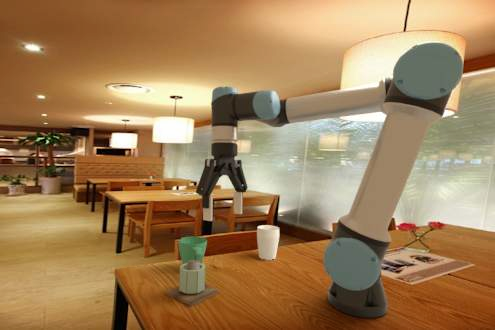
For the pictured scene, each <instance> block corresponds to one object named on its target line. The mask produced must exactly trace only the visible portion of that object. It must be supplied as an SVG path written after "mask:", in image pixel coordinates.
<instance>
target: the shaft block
mask: <svg viewBox="0 0 495 330" xmlns="http://www.w3.org/2000/svg"><path fill="white" fill-rule="evenodd" d="M198 269H200V261H198V260H190V261H188V262H187V270H198ZM218 293H219V290H218V289H217V288H216V287H215V288H214V287H212V286H210V285H207V284H205V290H203V291H201V292H199V293H193V294H187V293H183V292H181V291H179V285H178V286H176V287H173V288H172V289H171V288H170V289H169V290H167V291H166V295H167V296H169V297H171V298H172V299H175V300H176V301H180V302H181V303H184V304H186V305H188V306H190V307H193V306H195V305H197V304H200V303H201V302H203V301H205V300H207V299H209V298H211V297H213V296H215V295H216V294H218Z"/></svg>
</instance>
